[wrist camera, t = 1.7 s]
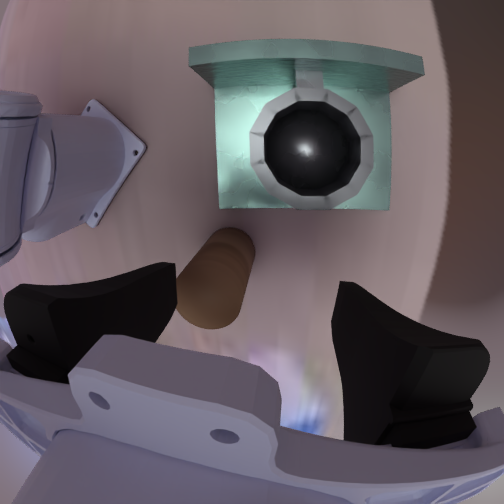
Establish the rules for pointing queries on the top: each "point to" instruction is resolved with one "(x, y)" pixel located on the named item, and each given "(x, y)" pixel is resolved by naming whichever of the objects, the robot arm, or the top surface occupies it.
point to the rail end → (216, 280)
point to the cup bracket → (303, 121)
